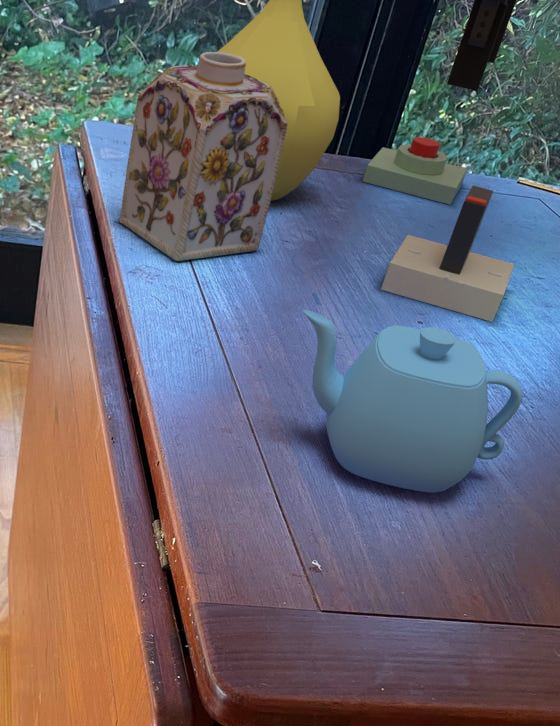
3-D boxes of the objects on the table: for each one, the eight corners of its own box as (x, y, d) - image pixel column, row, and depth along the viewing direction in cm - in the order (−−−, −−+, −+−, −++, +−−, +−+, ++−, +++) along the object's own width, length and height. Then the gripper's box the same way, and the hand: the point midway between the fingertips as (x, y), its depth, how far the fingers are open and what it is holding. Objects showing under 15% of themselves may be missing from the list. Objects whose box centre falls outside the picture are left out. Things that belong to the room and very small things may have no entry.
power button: (437, 155, 134) (442, 141, 133) (433, 161, 131) (437, 147, 130) (411, 148, 135) (415, 134, 134) (406, 155, 132) (410, 141, 131)
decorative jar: (260, 253, 110) (305, 72, 98) (176, 264, 105) (212, 75, 93) (197, 212, 117) (231, 39, 105) (115, 221, 112) (141, 40, 100)
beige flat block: (503, 290, 111) (515, 262, 109) (492, 322, 104) (504, 293, 102) (398, 260, 114) (408, 232, 112) (380, 290, 107) (390, 261, 105)
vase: (320, 180, 132) (395, -96, 111) (310, 227, 118) (393, -78, 98) (186, 152, 133) (236, -124, 113) (160, 195, 120) (212, -110, 100)
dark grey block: (448, 251, 109) (473, 182, 104) (467, 256, 109) (494, 188, 104) (439, 268, 105) (465, 198, 100) (459, 274, 104) (487, 203, 99)
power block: (461, 185, 138) (472, 154, 135) (450, 205, 131) (461, 173, 128) (377, 163, 141) (386, 133, 138) (362, 181, 134) (371, 150, 131)
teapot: (311, 273, 80) (538, 322, 78) (277, 392, 87) (484, 440, 85) (297, 338, 70) (555, 396, 69) (261, 466, 78) (493, 521, 76)
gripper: (539, -232, 88) (450, 41, 102) (512, -242, 70) (409, 89, 85) (626, -218, 86) (523, 57, 100) (622, -225, 69) (498, 110, 83)
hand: (471, 73), depth 93 cm, fingers open, 13 cm apart
